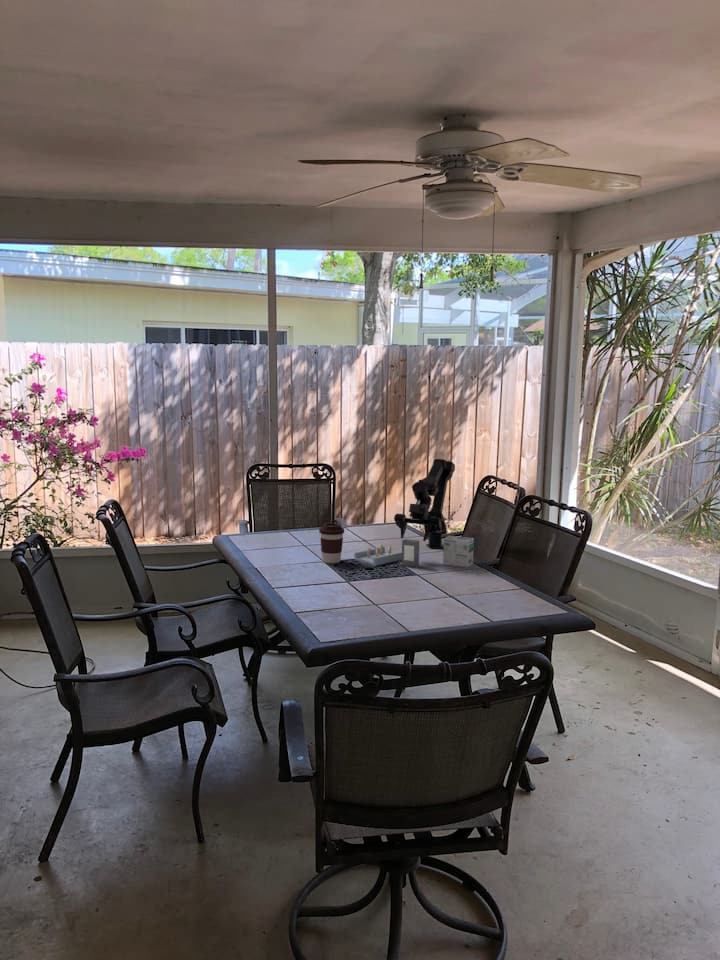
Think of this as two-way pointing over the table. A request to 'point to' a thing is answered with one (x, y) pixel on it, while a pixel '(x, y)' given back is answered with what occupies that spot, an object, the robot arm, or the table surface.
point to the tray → (377, 556)
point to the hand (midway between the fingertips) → (412, 539)
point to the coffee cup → (331, 542)
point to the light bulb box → (458, 551)
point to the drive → (410, 553)
